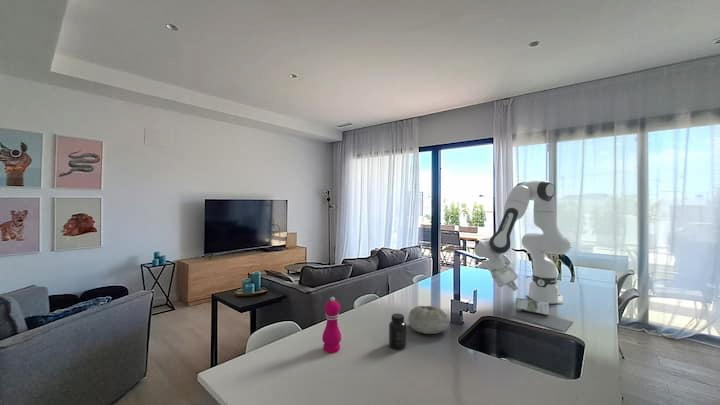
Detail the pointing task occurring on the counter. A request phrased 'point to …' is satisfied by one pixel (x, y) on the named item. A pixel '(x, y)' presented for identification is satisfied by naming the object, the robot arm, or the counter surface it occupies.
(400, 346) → the supplement bottle
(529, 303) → the syrup box
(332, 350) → the pepper mill
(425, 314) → the decorative shell
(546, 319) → the charcoal mat
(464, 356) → the counter surface
